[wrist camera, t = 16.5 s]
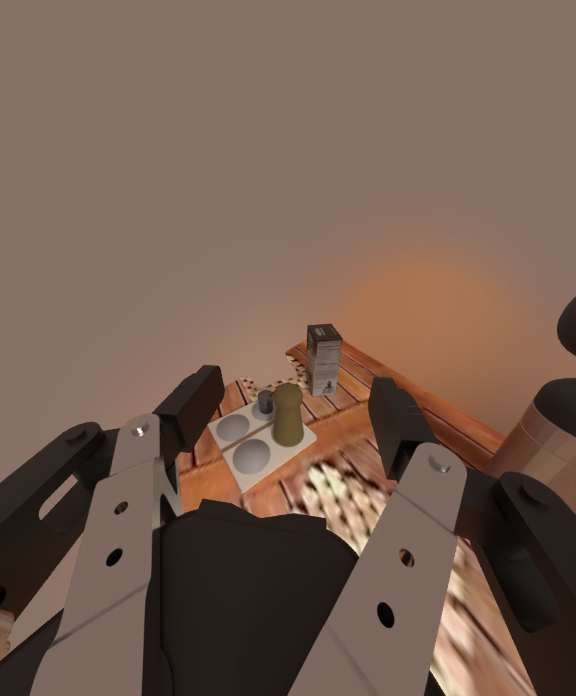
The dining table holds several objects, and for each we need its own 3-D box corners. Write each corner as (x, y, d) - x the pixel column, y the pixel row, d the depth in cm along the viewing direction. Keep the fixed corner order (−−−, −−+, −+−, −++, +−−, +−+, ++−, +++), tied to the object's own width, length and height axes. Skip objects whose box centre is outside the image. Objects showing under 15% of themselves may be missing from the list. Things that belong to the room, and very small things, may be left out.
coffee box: (304, 376, 60) (306, 324, 52) (326, 374, 60) (330, 323, 53) (312, 397, 52) (315, 339, 44) (336, 395, 52) (344, 337, 45)
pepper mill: (267, 430, 41) (263, 386, 36) (291, 417, 44) (291, 374, 39) (284, 453, 37) (282, 406, 32) (310, 436, 40) (312, 391, 35)
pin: (268, 402, 48) (267, 388, 46) (276, 409, 46) (275, 396, 44) (256, 408, 47) (255, 394, 45) (264, 416, 44) (262, 402, 42)
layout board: (271, 396, 52) (271, 392, 51) (316, 440, 41) (316, 435, 40) (208, 428, 43) (207, 423, 43) (242, 494, 32) (241, 488, 31)
